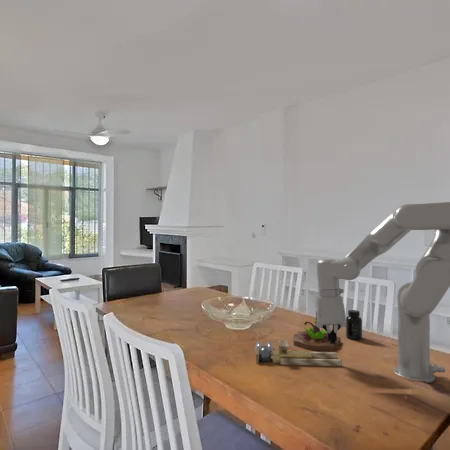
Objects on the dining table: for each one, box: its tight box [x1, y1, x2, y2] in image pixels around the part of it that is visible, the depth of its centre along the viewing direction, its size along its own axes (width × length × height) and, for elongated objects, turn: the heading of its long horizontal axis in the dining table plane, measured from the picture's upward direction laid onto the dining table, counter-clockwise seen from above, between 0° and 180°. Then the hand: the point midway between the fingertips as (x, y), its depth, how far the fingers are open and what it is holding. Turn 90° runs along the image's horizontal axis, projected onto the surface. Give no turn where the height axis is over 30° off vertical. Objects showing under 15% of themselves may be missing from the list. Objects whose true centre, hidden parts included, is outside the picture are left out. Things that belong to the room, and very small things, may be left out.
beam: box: [255, 339, 343, 367], centre depth 131 cm, size 30×8×6 cm, turn 86°
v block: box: [254, 341, 274, 356], centre depth 142 cm, size 8×7×3 cm
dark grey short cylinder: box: [259, 345, 272, 363], centre depth 132 cm, size 5×4×4 cm
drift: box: [271, 349, 313, 364], centre depth 131 cm, size 14×4×4 cm, turn 87°
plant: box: [292, 318, 342, 352], centre depth 151 cm, size 20×20×11 cm
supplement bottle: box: [345, 309, 363, 341], centre depth 158 cm, size 7×7×12 cm
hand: (332, 342), depth 130 cm, fingers closed
